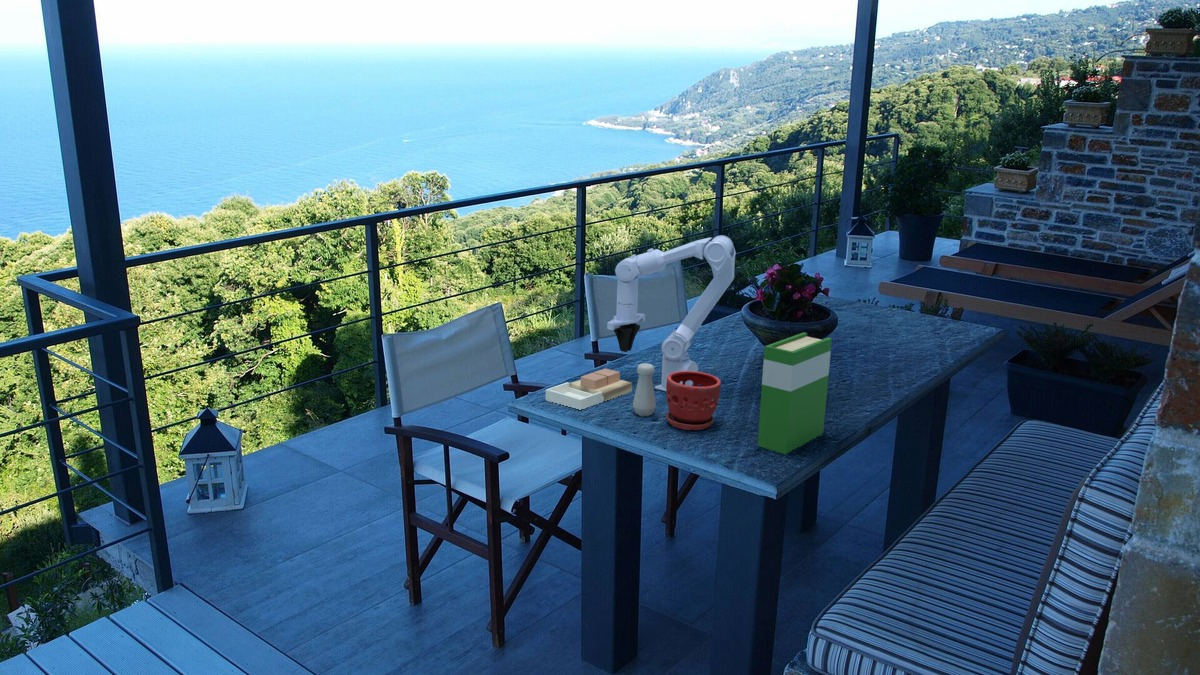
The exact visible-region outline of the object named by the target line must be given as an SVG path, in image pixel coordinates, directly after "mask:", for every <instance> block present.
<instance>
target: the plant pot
mask: <svg viewBox="0 0 1200 675" xmlns="http://www.w3.org/2000/svg"><path fill="white" fill-rule="evenodd" d="M688 380H691V381H692V382H693V386H687V385H685V383H686V381H688ZM681 381H682V382H683V383H682V384H680V382H681ZM699 385H701V386H699ZM721 388H722V381H721V380H720V378H718V377H716V376H714V375H712V374H710V373H706V372H700V371H698V372H695V371H679V372H674V373H671V374H669V375H668V377H667V384H666V391H665V394H666V395H665V396H666V404H667V407H668V410H669V411H668V412H667V413H666V415H665V416H666V420H667V421H668V423H669V424H670V425H671V426H673V427H675V428H677V429H681V430H686V431H698V430H700V431H701V430H704V429H708V428H709V427H711V426H712V425H713V423H714V421H715V418H714V417H713V415H714V413H715V412H716V410H717V407H718V404H719V399H720V394H721Z"/></svg>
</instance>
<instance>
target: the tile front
mask: <svg viewBox="0 0 1200 675" xmlns="http://www.w3.org/2000/svg"><path fill="white" fill-rule="evenodd" d="M580 380H581V386H583V387H587V388H590V389H594V390H596V389H599V388H601V387H604V386H607V376H603V375H600V374H596V373H594V372H590V373H588V374H585V375H582V376H580Z"/></svg>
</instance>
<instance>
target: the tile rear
mask: <svg viewBox="0 0 1200 675" xmlns="http://www.w3.org/2000/svg"><path fill="white" fill-rule="evenodd" d="M593 373H596V374H600V375H603V376H607V385H610V384H612V383H615V382H618V381H620V380H621V376H620V375H621V372H620V371H617V370H613V369H609V368H603V369H600V370H596V371H594V372H593Z"/></svg>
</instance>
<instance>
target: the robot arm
mask: <svg viewBox="0 0 1200 675" xmlns="http://www.w3.org/2000/svg"><path fill="white" fill-rule="evenodd" d="M646 251H647V252H643V253H640V254H632V255H631V256H630V257H626V258H624V259H623V260H621V261H620V262H618V263H617V265H616V266H615V269H614V270H615V271H614V272H615V275H616V276H615V277H617V285H616V312H615V313H616V314H615V315H613V318H612V319H611V320H610V321H608V322H606V330H609V331H613V332H614V335H615V336H616V339H617V341H618V346H619V351H620V352H622V353H623V352H625V353H627V352H628V351H629V352H631V351H632V348H633V346H634V341H635V338H636V336H637V334H638V332H639V331H640V329H641V324H637V323H638V322H646V313H641V312H639V313H638V307H639V306H638V305H639V304H638V303H639V302H638V300H639V277H644V276H647V275H650V274H653V273H657V272H660V271H663V270H664V269H665V268H666V266H667V264H669V263H670V264H671V263H673V262H678V261H682V260H684V259H688V258H689V259H690V258H692V257H694V258H697V259H699V260H704V259H705V260H706V261H707V263H708V264H709V266H710V268H711V271H712V274H713V278H712V279H711V281H710V283H709V284H708V285H707V287H706V288H705V289H704V291H703V292H702V293H701V295H700V297H698V299H697V301H696V302H695V303H694V305H693V307H692V308H691V309H690V311H689V312H688V313H687V315H686V316H685V318H684V319H683V320H682V322H681V323H680V325H679V326H678V328H676V329H675V330H673V331H672V332H671V333H669V336H668V337H667V338H665V339H664V341H663V342H662V343H661V353H662V358H661V360H662V361H661V363H662V365H661V384H658V385H655V386H654V390H655V389H656V390H660V391H662V392H663V391H664V392H666V384H667V377H668V375H669V374H671V373H674V372H679V371H695V372H699V366H698V363H697V362H695V361H693V360H691V359H690V354H689V353H688V351H687V350H689V348H690V347H691V343H692V338H693V336H694V335H695V334H696V332H697V330H699V328H700V327H701V325H702V324H703V323H704V321H705V320H706V318H707V317H708V315H709V314H710V312H712V310H713V309H714V307H715V305H716V304H717V302H719V300H720V299H721V297H722V296H723V294H724V293H725V292H726V291H727V289H728V288H729V286H730V285H731V283H732V282H733V281H734V279H735V261H736V253H737V252H736V249H735V246H734V242H733V241H732V240H731V238H730V237H728V236H726V235H721V234H720V235H717V236H715V237H707V238H702V239H698V240H694V241H690V242H689V243H687V244H684V245H683V244H682V245H680V246H677V247H674V248H671V249H668V250H666V251H662V250H660V249H658V248H656V249H654V248H653V247H652V248H649V249H647V250H646ZM682 383H683V382H682V381H681V382H680V384H682ZM685 385H687V386H693V382H692V381H691V380H688V381H686V383H685Z"/></svg>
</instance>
